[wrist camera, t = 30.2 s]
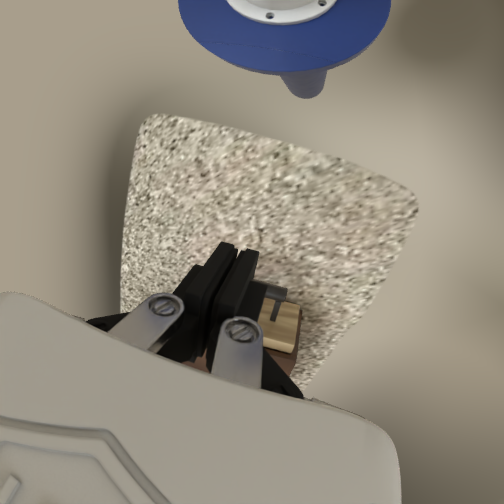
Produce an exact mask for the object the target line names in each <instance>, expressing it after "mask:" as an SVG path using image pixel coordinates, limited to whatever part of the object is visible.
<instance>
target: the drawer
mask: <svg viewBox="0 0 504 504" xmlns="http://www.w3.org/2000/svg"><path fill="white" fill-rule="evenodd" d="M253 281H256V282H259V283H263V284H266V285H268V287H267V291H266V295H265V298H264V302H263V306H262V309H261V312H260V316H259V319H258V322H257V323H258V324H259V325H260V326H261V328H262V329H263V347H264V348H266V349H269V350H273V351H277V352H281V353H283V352H287V353H292V350H293V348H294V346H295V339H296V332H297V324H298V316H299V308H300V305H297V304H293V303H289V302H286V301H285V298H286V294H287V290H288V289H287V288H284V287H280V286H276V285H273V284H269V283H266V282H262V281H259V280H255V279H253Z"/></svg>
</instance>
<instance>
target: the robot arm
mask: <svg viewBox="0 0 504 504" xmlns="http://www.w3.org/2000/svg"><path fill="white" fill-rule="evenodd" d="M336 1H337V0H227V2H228V3H229V5H230V6H231V7H232V8H233V9H234V10H235V11H237V12H238V13H239V14H241V15H242V16H244V17H246V18H248V19H250V20H253V21H256V22H259V23H264V24H270V25H293V24H299V23H303V22H308V21H310V20H312V19H315V18H317V17H319V16H321V15H322V14H324V13H326V12H327V11H328V10H329V9H330V8H331V7H332V6H333V5H334V4H335V2H336ZM320 5H324V6H320ZM270 17H273V18H272V19H269V18H270ZM237 253H238V249H235V248H234V245H233V244H229V243H226V242H221V243H220V244H219V245H218V247H217V248H216V250H215V251H214V252H213V254H212V255H211V256H210V258H209V259H208V260H207V262H206V263H205V265H204V266H200V265H197V264H196V265H194V266H193V267H192V269H191V270H190V271H189V273H188V274H187V275H186V276H185V278H184V279H183V280H182V282H181V283H180V284H179V286H178V287H177V288H176V289H175V291H174V292H173V293H172V294H170V293H157V294H153V295H151V296H150V297H148V298H147V299H146V300H144V301H143V302H142V303H141V304H140V305H139V306H137V307H136V308H135V309H134V310H133V311H132V312H127V313H121V314H116V315H111V316H105V317H99V318H94V319H90V320H88V321H86V322H85V320H84V318H81V317H77V316H73V315H70V314H68V313H66V312H64V311H62V310H60V309H58V308H56V307H54V306H52V305H50V304H48V303H46V302H44V301H42V300H40V299H38V298H35V297H33V296H30V295H26V294H23V293H17V292H3V293H0V504H401V479H400V469H399V462H398V457H397V453H396V449H395V446H394V444H393V442H392V440H391V438H390V437H389V435H388V434H387V433H386V432H385V431H384V430H382V429H381V428H380V427H378V426H377V425H375V424H374V423H372V422H370V421H368V420H366V419H365V418H363V417H362V416H360V415H357V414H354V413H352V412H349V411H346V410H344V409H341V408H338V407H336V406H333V405H330V404H328V403H325V402H323V401H320V400H318V399H315V398H312V399H311V400H310V399H307V398H305V397H303V394H302V392H301V391H300V389H299V388H298V387H297V386H296V385H295V384H294V382H293V381H292V380H291V379H290V378H289V377H288V375H287V374H286V373H285V372H284V371H283V370H282V368H281V367H280V366H279V365H278V364H277V363H276V361H275V360H274V359H273V358H272V357H271V356H270V354H269V353H268V352H267V351H266V350H265V348H264V347H263V329H262V328H261V326H260V325H259V324H258V323H257V322H258V319H259V316H260V312H261V309H262V306H263V302H264V298H265V295H266V291H267V287H268V285H266V284H263V283H259V282H256V281H253V278H254V274H255V269H256V265H257V261H258V257H259V251H255V250H251V249H248V248H247V249H246V251H242V250H241V252H240V253H239V255H238V257H237ZM236 258H237V259H236ZM206 348H207V349H206ZM205 350H206V357H205V359H206V367H207V369H208V371H209V372H210V373H207V372H204V371H201V370H198V369H195V368H192V367H189V366H187V365H184V364H182V363H183V362H186V361H189V362H192V363H195V361H196V359H197V357H201V358H202V357H203V355H204V353H205Z"/></svg>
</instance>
